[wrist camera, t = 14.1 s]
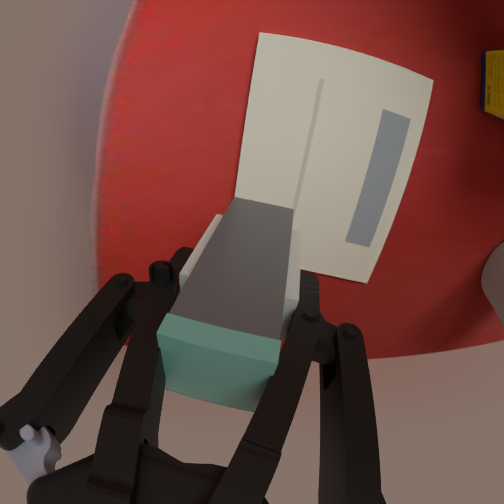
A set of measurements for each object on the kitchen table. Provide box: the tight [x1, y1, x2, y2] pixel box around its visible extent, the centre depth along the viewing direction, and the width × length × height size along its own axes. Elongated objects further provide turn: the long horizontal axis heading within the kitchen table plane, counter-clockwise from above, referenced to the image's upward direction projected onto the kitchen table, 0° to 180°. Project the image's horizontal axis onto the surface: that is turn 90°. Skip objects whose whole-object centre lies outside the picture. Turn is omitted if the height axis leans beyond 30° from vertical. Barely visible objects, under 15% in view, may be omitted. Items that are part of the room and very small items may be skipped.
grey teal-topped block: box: [157, 197, 294, 412], centre depth 15 cm, size 4×4×12 cm
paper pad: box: [235, 33, 434, 283], centre depth 22 cm, size 20×14×1 cm
